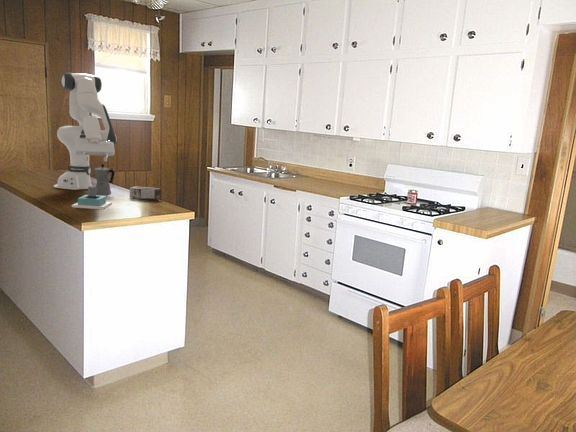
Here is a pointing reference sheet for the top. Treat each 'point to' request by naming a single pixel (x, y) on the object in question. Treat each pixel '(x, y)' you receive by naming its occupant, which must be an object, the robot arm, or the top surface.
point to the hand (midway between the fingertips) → (96, 160)
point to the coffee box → (145, 193)
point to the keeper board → (92, 202)
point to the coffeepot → (103, 180)
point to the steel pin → (92, 192)
